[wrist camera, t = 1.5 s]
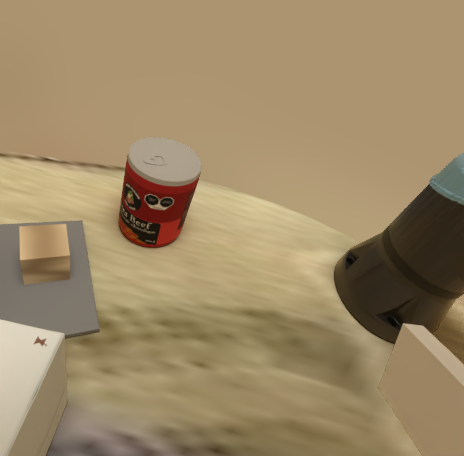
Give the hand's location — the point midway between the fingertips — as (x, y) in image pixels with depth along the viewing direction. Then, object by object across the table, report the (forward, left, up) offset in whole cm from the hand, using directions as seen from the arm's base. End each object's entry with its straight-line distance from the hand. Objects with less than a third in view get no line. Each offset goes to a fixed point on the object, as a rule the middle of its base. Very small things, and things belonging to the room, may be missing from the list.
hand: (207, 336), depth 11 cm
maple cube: (+5, -20, -22) cm, 30 cm away
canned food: (-7, -25, -23) cm, 35 cm away
